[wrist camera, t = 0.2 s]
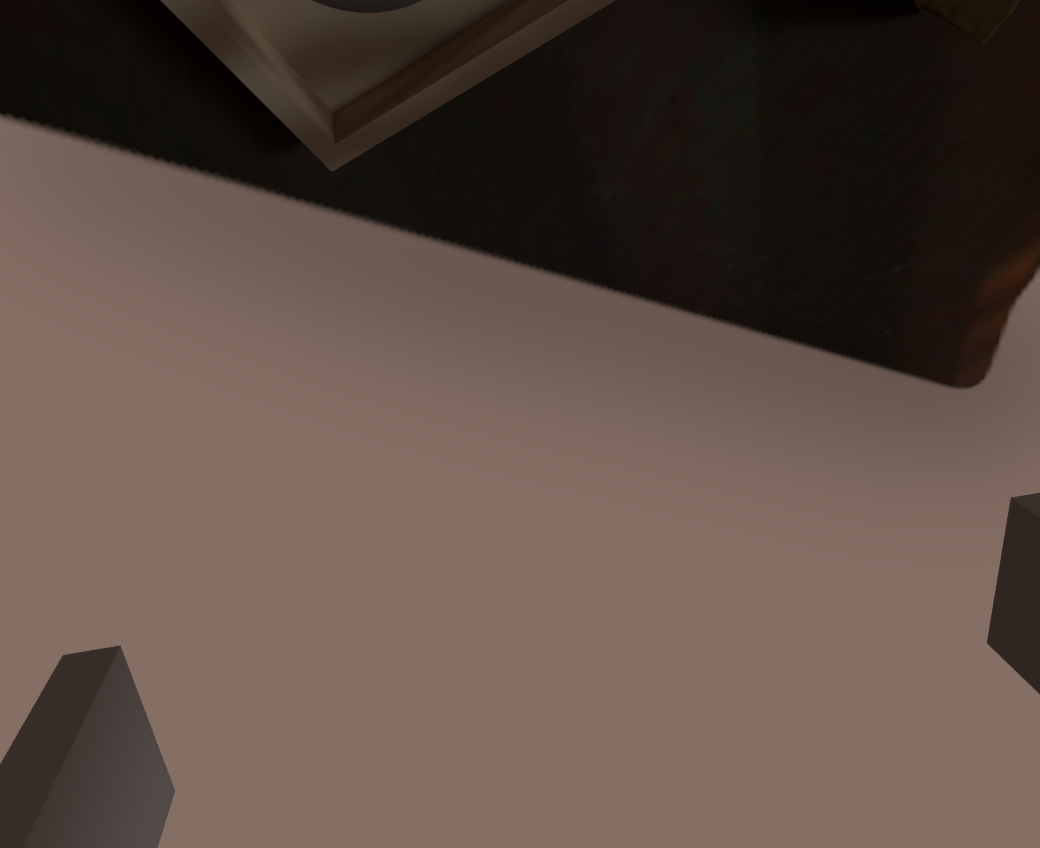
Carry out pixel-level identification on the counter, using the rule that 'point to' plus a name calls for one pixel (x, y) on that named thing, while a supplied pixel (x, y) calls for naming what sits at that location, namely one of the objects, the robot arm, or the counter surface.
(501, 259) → the counter surface
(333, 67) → the housing tray
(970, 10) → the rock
